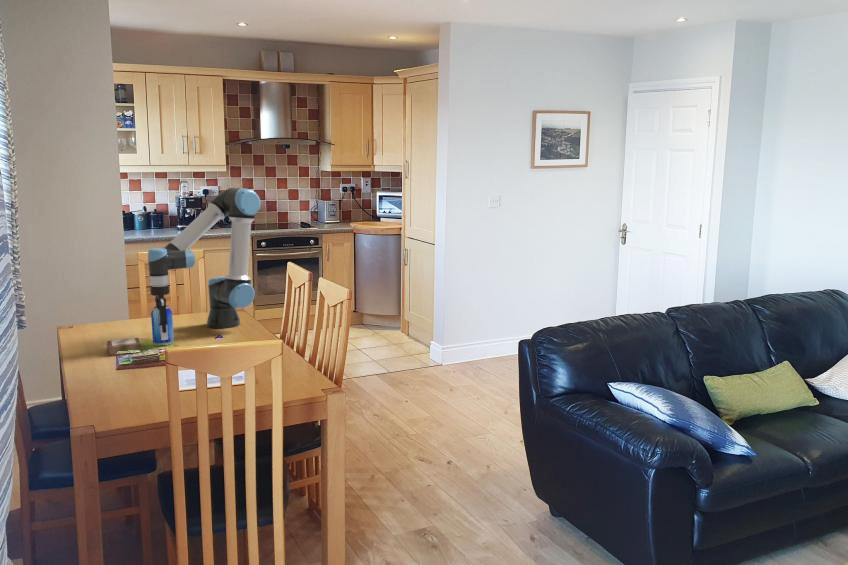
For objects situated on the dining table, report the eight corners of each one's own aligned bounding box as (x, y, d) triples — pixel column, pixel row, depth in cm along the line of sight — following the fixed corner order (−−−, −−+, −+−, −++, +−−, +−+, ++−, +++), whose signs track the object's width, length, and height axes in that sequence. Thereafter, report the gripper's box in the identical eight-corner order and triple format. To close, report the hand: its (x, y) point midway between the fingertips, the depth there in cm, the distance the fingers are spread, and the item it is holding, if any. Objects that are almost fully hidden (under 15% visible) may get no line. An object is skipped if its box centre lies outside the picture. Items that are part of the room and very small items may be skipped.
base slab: (138, 345, 306) (137, 336, 305) (141, 352, 295) (140, 342, 295) (107, 349, 301) (106, 339, 300) (109, 356, 290) (108, 346, 289)
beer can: (167, 346, 304) (164, 309, 301) (149, 345, 305) (146, 308, 303) (177, 341, 312) (175, 305, 309) (160, 341, 314) (157, 304, 311)
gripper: (147, 282, 312) (151, 333, 316) (153, 289, 293) (157, 344, 297) (165, 280, 315) (169, 331, 319) (172, 288, 297) (176, 341, 300)
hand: (163, 337), depth 308 cm, fingers closed on beer can, 8 cm apart
